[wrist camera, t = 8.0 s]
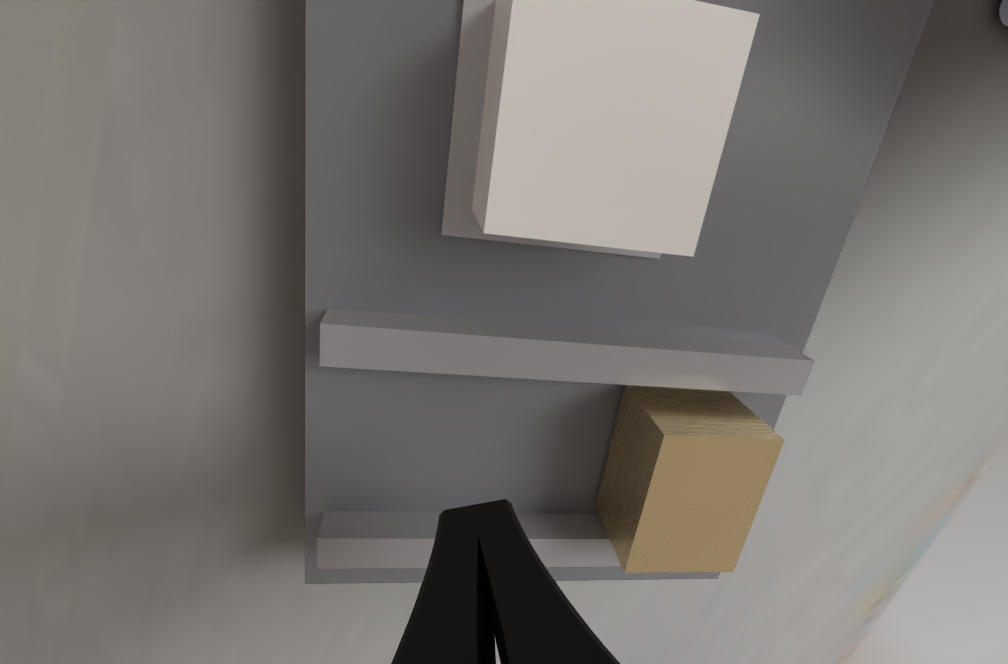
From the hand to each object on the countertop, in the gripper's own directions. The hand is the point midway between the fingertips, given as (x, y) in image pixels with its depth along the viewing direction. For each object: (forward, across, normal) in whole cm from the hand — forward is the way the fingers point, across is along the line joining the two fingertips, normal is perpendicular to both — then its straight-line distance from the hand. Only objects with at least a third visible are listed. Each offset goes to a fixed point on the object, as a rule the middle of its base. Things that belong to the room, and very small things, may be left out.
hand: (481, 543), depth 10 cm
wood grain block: (+4, -5, +1) cm, 7 cm away
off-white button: (+4, -3, -7) cm, 9 cm away
